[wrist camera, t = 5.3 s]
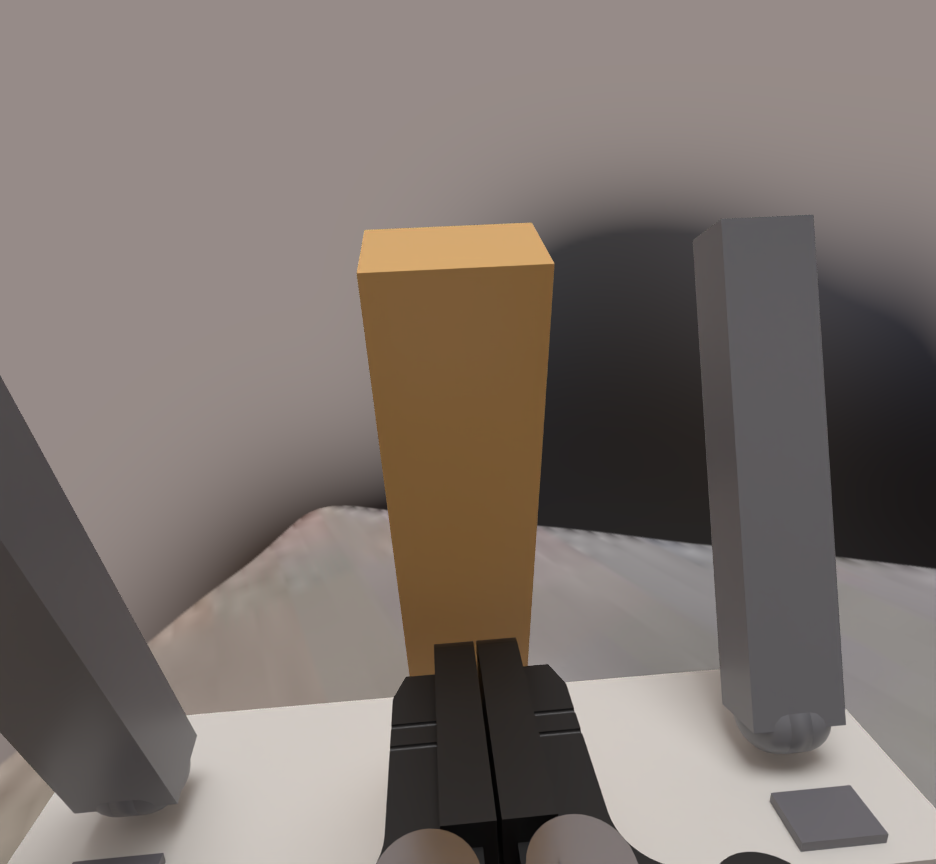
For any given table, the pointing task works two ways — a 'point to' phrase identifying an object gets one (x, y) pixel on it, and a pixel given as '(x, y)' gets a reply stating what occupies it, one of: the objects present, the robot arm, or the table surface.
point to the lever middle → (459, 422)
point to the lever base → (613, 757)
